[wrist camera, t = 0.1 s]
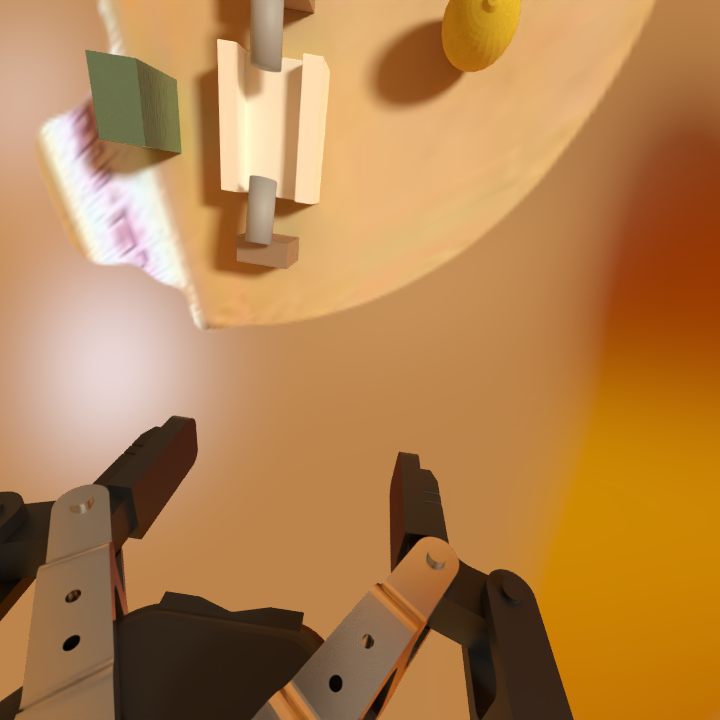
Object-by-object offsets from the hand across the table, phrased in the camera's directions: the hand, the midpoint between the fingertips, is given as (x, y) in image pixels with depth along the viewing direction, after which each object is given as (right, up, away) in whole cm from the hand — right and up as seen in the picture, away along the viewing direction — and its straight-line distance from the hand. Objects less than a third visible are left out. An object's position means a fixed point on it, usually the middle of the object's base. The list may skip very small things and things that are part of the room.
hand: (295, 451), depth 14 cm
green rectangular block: (-17, +28, +20) cm, 38 cm away
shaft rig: (-5, +26, +20) cm, 33 cm away
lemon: (+12, +31, +17) cm, 37 cm away
